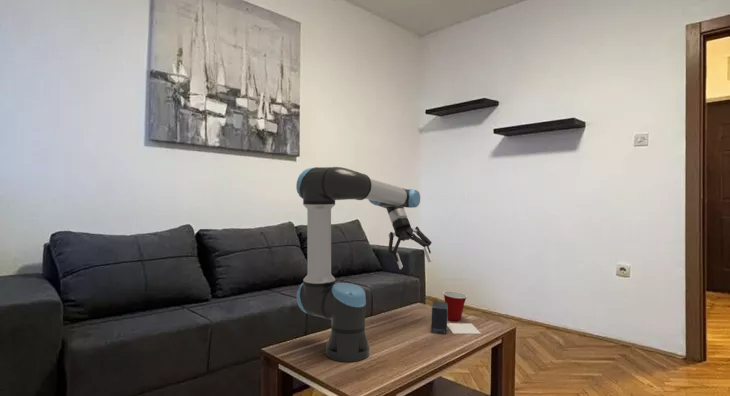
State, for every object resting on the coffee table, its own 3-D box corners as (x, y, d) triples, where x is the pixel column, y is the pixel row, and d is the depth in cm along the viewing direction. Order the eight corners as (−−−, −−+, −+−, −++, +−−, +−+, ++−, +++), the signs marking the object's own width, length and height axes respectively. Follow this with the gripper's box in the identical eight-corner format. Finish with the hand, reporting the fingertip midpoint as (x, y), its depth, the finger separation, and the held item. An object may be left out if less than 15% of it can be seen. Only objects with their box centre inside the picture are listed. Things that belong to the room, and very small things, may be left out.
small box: (447, 334, 167) (447, 308, 167) (430, 333, 168) (431, 307, 168) (447, 326, 177) (447, 302, 177) (431, 325, 179) (432, 301, 178)
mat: (452, 333, 168) (452, 333, 168) (445, 323, 181) (445, 323, 181) (481, 334, 168) (481, 333, 168) (471, 324, 181) (471, 323, 181)
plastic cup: (465, 324, 180) (466, 297, 180) (440, 322, 184) (441, 294, 184) (467, 318, 191) (468, 291, 191) (443, 315, 194) (444, 289, 194)
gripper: (422, 219, 193) (439, 261, 183) (371, 229, 185) (386, 274, 176) (427, 211, 186) (444, 255, 177) (375, 222, 179) (391, 267, 169)
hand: (416, 264), depth 176 cm, fingers open, 13 cm apart
